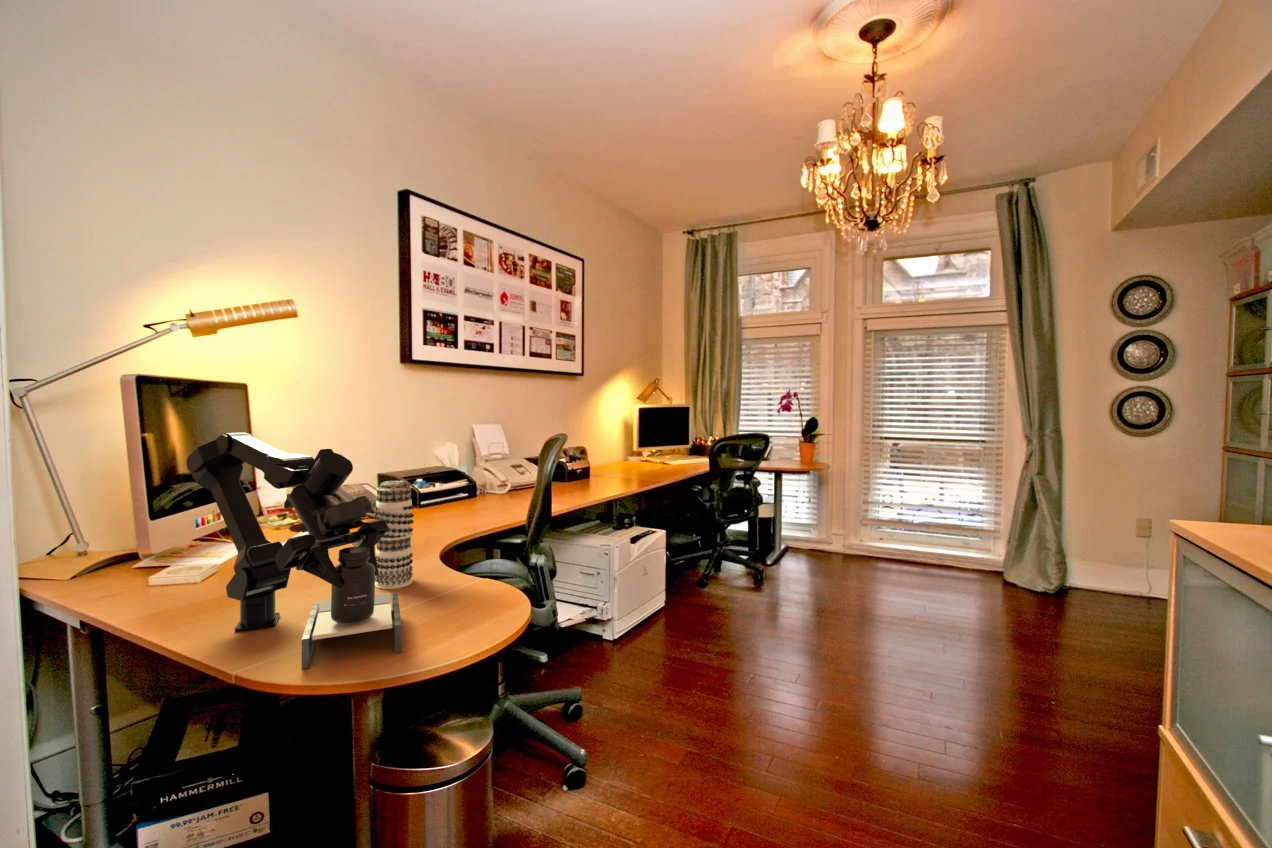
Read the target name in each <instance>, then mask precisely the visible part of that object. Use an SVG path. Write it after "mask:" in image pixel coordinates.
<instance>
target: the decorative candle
mask: <svg viewBox="0 0 1272 848" xmlns="http://www.w3.org/2000/svg"><path fill="white" fill-rule="evenodd" d="M412 489H413V487H412V486H410V484H409V483H408V482H407V481H406V480H386V481H382V482H380V484H379V486H378V487H377V488H376V498H377V499H376V502H375V503H376V505H375V507H373V508H372V509H373V513H374V515H373V520H377V519H381V520H384V521H385V522H386V524H387V525H388V527H389V530H388V531H387V532H386V533H385V534H384V536H383V537H382V538H381V539H380V540H379V542H378V543H377V544H376V548H375V557H376V563H377V570H378V574H377V575H376V576H375V586H376V587H375V588H377V589H380V588H382V589H383V590H392V589H393V590H394V589H400V588H405V587H407V586H409V585H411V584H412V583H413V581H414V580H413V568H414V567H413V565H411V564H413V562H414V561H413V559H412V558H413V553H412V546H411V544H412V543H411V542H412V541H411V540H412V538H411V537H412V536H413V535H414V534H413V532H414V527H413V528H412V527H411V525H412V524H413V523H414V522H415V521H414V520H413V519H412V518H414V517H415V514H414V513H412V512H411V510H414V509H415V505H413V503H412V501H413V499H412Z"/></svg>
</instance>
